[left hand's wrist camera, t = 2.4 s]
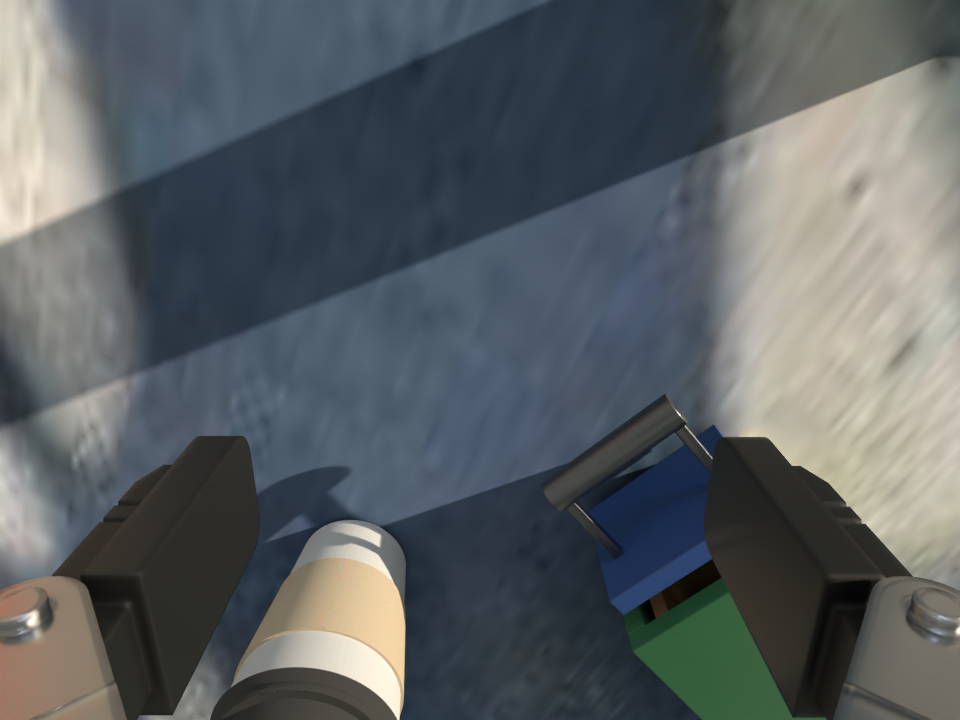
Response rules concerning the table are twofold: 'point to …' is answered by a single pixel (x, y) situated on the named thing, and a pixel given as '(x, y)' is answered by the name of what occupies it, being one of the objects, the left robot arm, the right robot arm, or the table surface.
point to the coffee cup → (329, 635)
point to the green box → (707, 657)
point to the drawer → (645, 510)
